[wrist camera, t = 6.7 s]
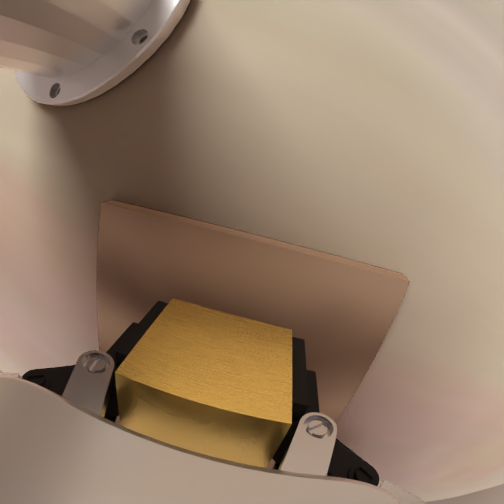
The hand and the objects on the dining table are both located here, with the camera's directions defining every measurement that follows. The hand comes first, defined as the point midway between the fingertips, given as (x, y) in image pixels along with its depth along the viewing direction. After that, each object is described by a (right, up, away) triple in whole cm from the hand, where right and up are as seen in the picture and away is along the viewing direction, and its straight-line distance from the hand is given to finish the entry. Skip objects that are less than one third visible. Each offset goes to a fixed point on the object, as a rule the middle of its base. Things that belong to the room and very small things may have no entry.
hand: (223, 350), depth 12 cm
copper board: (-1, -5, +5) cm, 7 cm away
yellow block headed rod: (-1, -5, +1) cm, 5 cm away
